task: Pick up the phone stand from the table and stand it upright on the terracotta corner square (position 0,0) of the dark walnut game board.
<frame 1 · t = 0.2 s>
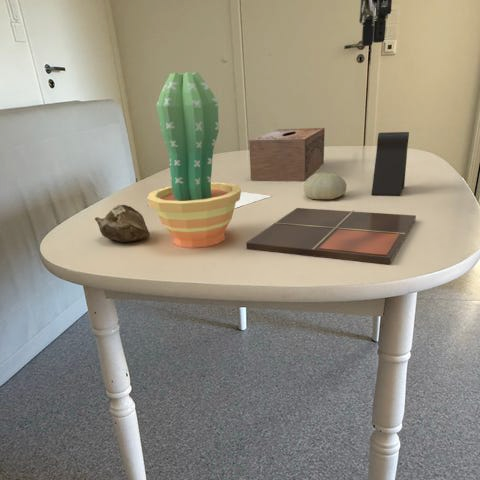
hand: (372, 44, 94), 29 cm above the table, tool pointing down, fingers open, 8 cm apart
phone stand: (388, 192, 98), on the table
sea urchin shell: (324, 197, 98), on the table
fossilized seashell: (125, 240, 79), on the table
board: (335, 234, 74), on the table
tissue box cover: (289, 172, 127), on the table
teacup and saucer: (209, 201, 101), on the table
potted cactus: (199, 240, 76), on the table
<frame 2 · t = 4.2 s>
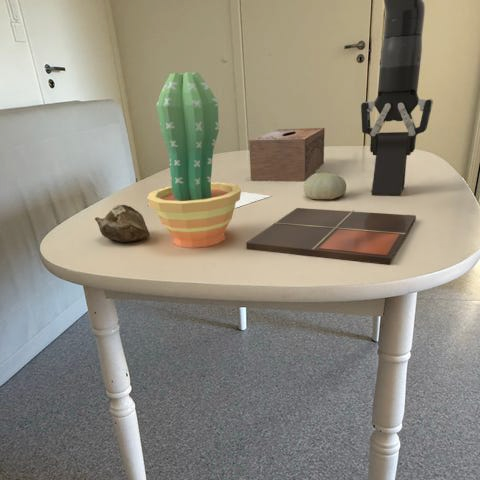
hand: (391, 154, 95), 8 cm above the table, tool pointing down, fingers closed on phone stand, 6 cm apart
phone stand: (388, 192, 98), on the table, touching gripper
everything else where it was.
when the fingers open (9 cm above the table, at t = 13.4 s): phone stand stays where it is, resting on board.
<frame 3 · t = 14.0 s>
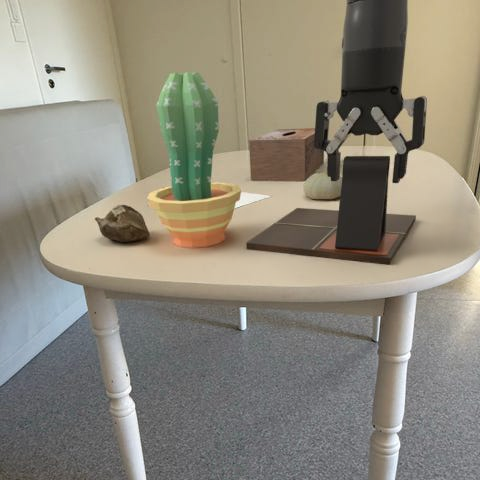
hand: (364, 181, 63), 10 cm above the table, tool pointing down, fingers open, 8 cm apart
phone stand: (360, 241, 67), point 1 cm above the table, touching board
everything else where it was.
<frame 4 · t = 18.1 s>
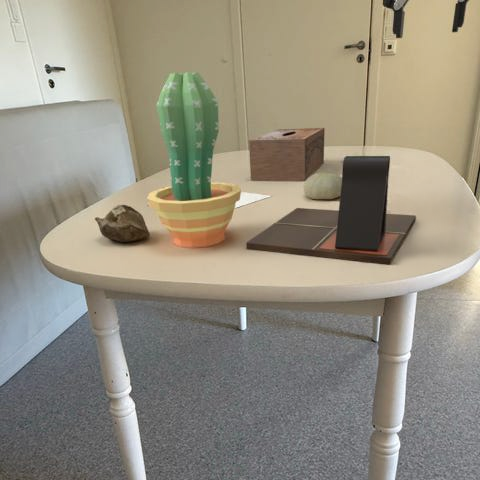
hand: (426, 35, 73), 28 cm above the table, tool pointing down, fingers open, 8 cm apart
nothing on the table moved.
at the end: phone stand inside the target area on the board (0.1 cm from its centre), point 0.9 cm above the board's base; phone stand tilted 0°; the gripper is holding nothing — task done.
